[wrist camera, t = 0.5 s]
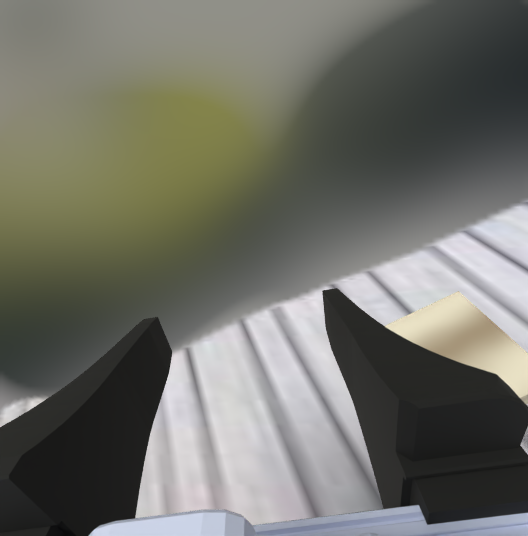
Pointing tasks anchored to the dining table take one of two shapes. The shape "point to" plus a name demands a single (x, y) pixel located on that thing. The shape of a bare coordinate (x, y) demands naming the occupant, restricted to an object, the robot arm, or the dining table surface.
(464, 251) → the dining table surface
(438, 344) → the beige block
